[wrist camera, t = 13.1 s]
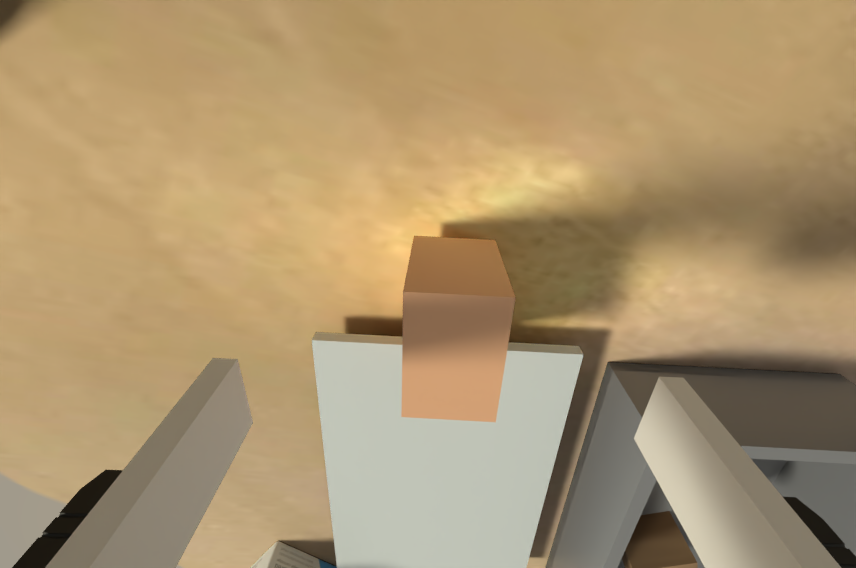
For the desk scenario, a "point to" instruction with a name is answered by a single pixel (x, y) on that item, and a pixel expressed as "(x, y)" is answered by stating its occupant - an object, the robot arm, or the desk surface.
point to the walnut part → (658, 544)
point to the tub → (747, 423)
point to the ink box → (288, 558)
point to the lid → (442, 421)
